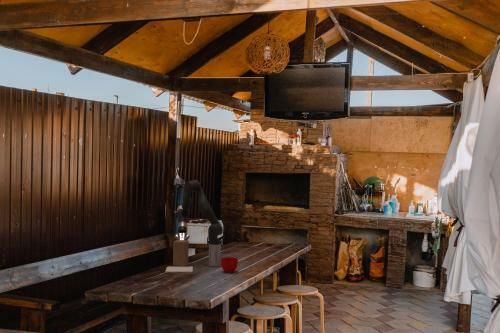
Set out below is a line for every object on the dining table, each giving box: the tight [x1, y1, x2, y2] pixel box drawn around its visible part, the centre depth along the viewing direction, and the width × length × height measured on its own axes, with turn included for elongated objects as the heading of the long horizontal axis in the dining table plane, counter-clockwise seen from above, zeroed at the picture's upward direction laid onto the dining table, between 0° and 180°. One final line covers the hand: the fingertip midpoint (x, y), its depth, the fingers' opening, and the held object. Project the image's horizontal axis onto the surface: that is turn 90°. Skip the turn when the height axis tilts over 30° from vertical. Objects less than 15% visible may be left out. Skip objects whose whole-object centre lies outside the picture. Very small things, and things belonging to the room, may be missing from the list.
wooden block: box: [172, 239, 190, 267], centre depth 407 cm, size 10×10×20 cm
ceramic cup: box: [220, 256, 239, 274], centre depth 384 cm, size 13×17×10 cm
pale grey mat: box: [165, 266, 194, 273], centre depth 391 cm, size 20×19×1 cm
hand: (181, 245), depth 417 cm, fingers closed
